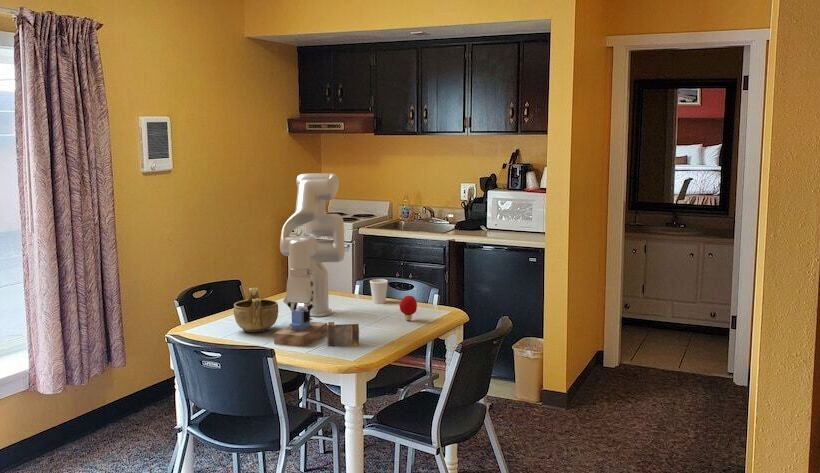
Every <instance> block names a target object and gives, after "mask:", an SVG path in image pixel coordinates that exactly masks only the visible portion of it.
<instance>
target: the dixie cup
mask: <svg viewBox="0 0 820 473" xmlns="http://www.w3.org/2000/svg"><path fill="white" fill-rule="evenodd" d="M388 282H389V280H388V279H384V278H376V279H375V278H374V279H371V280H369V283H370V292H371V299H372V304H374V303H375V304H377V305H382V304H386V301H387V292H388V291H387V290H388Z"/></svg>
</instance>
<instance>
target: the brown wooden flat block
mask: <svg viewBox="0 0 820 473" xmlns="http://www.w3.org/2000/svg"><path fill="white" fill-rule="evenodd" d="M327 325H328V322H321V321H310V328H308V329H306V330H304V331H294V330H292V326H290V325H289V324H288V326H286V327H285V326H284V327H283V328H281V329H279V330H277V331H276V332H274V333H273V343H274V345H283V346H291V347H301V346H302V348H303V347H306V346H307V345H309V344H312V343H313V342H315V341H316V340H318V339H320V338H321V337H323V336H325V335H328V330H327Z"/></svg>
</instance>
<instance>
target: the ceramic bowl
mask: <svg viewBox="0 0 820 473" xmlns="http://www.w3.org/2000/svg"><path fill="white" fill-rule="evenodd" d="M233 316H234V319H235V322H236V324H237V325H238V326H239V328H240V329H242V330H243V331H246V332H247V333H248V332H249V333H260V332H264V331H266V330H269V329H270V328H271V327H273V325H274V324H275V323H276V322H277V319H278V316H279V303H278V301H277V300H274V299H267V298H260V296H259V290H258V287H249V288H248V298H247V299H245V300H239V301H237V302H234V304H233Z"/></svg>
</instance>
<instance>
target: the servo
mask: <svg viewBox="0 0 820 473" xmlns="http://www.w3.org/2000/svg"><path fill="white" fill-rule="evenodd" d="M304 312H305V308H304V307H300V308H299V307H297V309H295V310H293V311H291V323H289V324H288V326H289V325H290V326H292V330H294V331H304V330H306V329H308V328H310V322H312V320H313V317H310V319H309V321H308V322H304Z"/></svg>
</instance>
